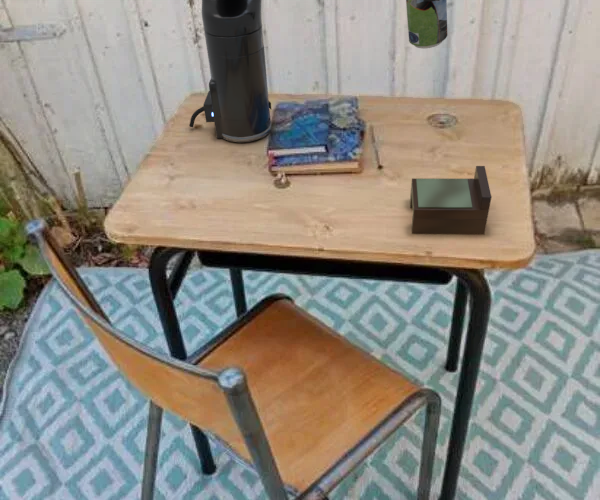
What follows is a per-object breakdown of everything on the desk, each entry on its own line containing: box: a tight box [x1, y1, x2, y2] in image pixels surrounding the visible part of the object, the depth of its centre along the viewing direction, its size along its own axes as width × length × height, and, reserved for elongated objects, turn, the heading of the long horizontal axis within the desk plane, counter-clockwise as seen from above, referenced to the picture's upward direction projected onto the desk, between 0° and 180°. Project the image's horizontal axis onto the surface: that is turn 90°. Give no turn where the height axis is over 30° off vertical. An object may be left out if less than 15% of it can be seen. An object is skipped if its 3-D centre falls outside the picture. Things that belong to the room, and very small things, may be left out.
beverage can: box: [405, 0, 448, 50], centre depth 99 cm, size 6×7×12 cm
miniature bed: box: [409, 165, 492, 235], centre depth 91 cm, size 10×8×6 cm
